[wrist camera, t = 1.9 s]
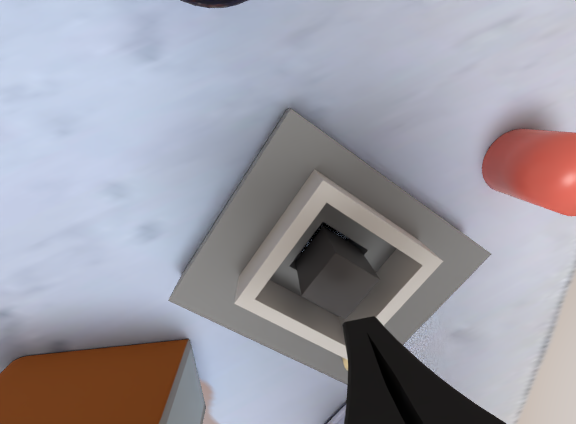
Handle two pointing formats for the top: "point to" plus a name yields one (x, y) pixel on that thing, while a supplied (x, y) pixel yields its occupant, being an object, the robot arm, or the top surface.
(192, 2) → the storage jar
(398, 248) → the grey square socket base
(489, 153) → the cap
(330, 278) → the button
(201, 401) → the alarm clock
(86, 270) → the top surface
